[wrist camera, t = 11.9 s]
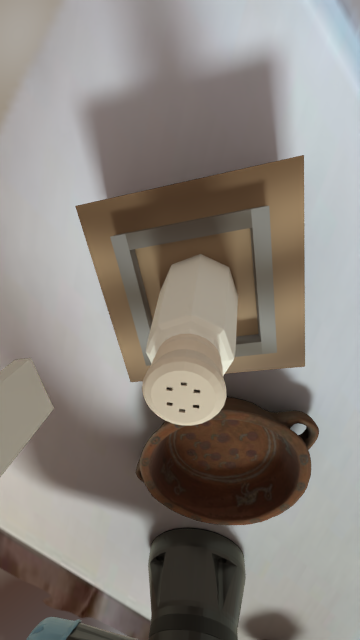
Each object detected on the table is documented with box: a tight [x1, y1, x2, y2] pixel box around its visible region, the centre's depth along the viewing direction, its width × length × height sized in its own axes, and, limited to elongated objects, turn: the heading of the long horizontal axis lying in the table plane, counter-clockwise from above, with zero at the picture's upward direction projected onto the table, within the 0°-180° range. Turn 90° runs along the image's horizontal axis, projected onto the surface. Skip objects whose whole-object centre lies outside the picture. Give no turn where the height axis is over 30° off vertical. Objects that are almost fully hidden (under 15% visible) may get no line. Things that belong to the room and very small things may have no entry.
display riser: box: [76, 155, 305, 382], centre depth 21 cm, size 14×14×7 cm
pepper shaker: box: [142, 254, 238, 426], centre depth 13 cm, size 5×5×11 cm
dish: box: [136, 397, 319, 525], centre depth 30 cm, size 18×22×5 cm
